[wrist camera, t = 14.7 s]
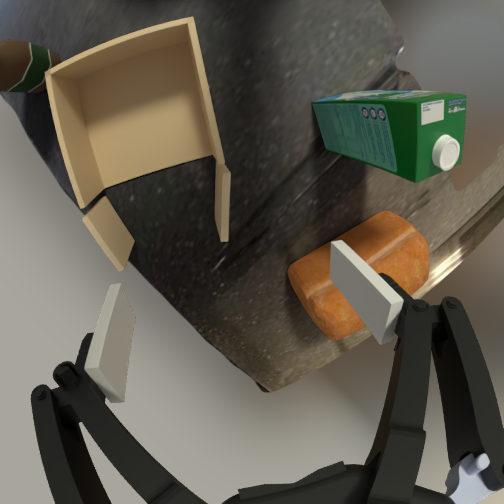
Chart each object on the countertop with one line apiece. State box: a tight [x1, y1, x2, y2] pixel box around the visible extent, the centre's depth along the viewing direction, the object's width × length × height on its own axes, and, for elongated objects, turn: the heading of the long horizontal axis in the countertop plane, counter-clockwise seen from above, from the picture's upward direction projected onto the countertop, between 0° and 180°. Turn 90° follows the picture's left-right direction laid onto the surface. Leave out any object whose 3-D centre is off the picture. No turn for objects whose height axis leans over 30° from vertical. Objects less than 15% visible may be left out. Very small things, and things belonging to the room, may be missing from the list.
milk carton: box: [312, 90, 466, 183], centre depth 32 cm, size 9×9×25 cm
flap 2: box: [215, 162, 231, 242], centre depth 40 cm, size 1×9×10 cm, turn 177°
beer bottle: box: [0, 39, 60, 93], centre depth 18 cm, size 8×8×24 cm
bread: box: [287, 210, 429, 340], centre depth 50 cm, size 14×26×16 cm, turn 117°
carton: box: [45, 17, 225, 209], centre depth 32 cm, size 20×20×10 cm
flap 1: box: [82, 196, 135, 272], centre depth 39 cm, size 1×9×10 cm, turn 24°
